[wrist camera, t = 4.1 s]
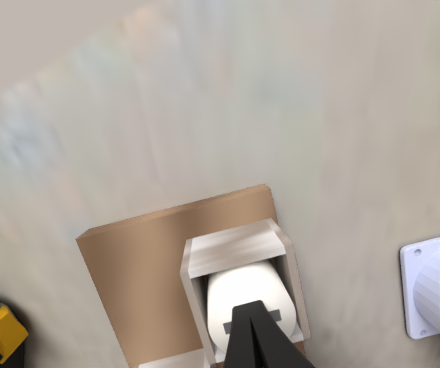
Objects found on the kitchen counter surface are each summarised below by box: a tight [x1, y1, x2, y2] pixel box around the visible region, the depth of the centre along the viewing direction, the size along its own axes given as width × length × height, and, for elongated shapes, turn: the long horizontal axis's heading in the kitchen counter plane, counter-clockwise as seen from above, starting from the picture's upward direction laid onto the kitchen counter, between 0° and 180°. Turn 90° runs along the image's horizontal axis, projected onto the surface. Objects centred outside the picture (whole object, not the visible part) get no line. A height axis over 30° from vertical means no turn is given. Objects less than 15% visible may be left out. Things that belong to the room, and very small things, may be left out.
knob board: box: [76, 184, 311, 368], centre depth 14 cm, size 12×17×5 cm
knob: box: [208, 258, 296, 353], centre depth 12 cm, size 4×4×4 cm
